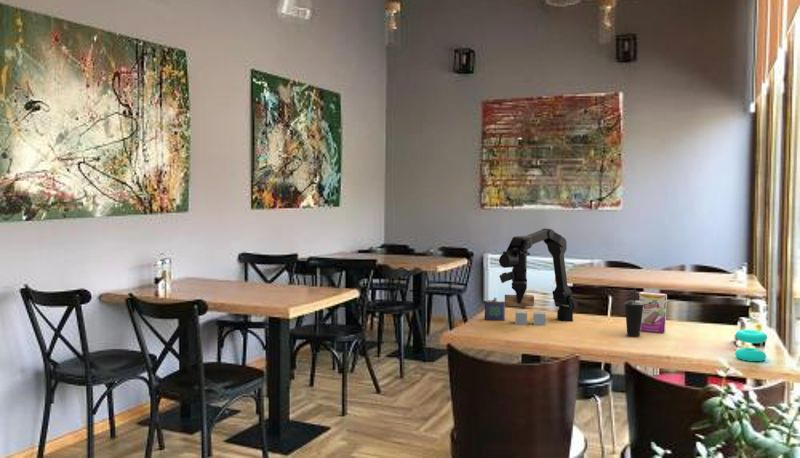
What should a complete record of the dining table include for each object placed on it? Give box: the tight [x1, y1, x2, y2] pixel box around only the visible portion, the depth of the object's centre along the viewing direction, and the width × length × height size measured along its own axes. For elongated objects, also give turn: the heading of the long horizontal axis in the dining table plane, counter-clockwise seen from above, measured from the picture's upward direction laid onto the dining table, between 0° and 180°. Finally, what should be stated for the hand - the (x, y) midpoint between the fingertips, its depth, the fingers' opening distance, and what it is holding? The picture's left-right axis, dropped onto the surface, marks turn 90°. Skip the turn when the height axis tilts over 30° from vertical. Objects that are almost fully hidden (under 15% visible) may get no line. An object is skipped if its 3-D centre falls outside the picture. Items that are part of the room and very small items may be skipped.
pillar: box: [533, 311, 546, 327], centre depth 305 cm, size 5×5×5 cm
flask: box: [484, 297, 506, 322], centre depth 313 cm, size 9×3×11 cm, turn 87°
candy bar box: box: [638, 291, 668, 334], centre depth 293 cm, size 11×5×16 cm, turn 65°
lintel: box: [504, 294, 535, 307], centre depth 293 cm, size 12×5×4 cm, turn 85°
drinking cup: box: [624, 287, 644, 338], centre depth 284 cm, size 8×8×20 cm
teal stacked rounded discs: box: [734, 329, 768, 362], centre depth 247 cm, size 10×10×10 cm
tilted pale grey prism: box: [514, 310, 528, 326], centre depth 306 cm, size 5×5×5 cm
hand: (519, 302), depth 293 cm, fingers closed on lintel, 5 cm apart
